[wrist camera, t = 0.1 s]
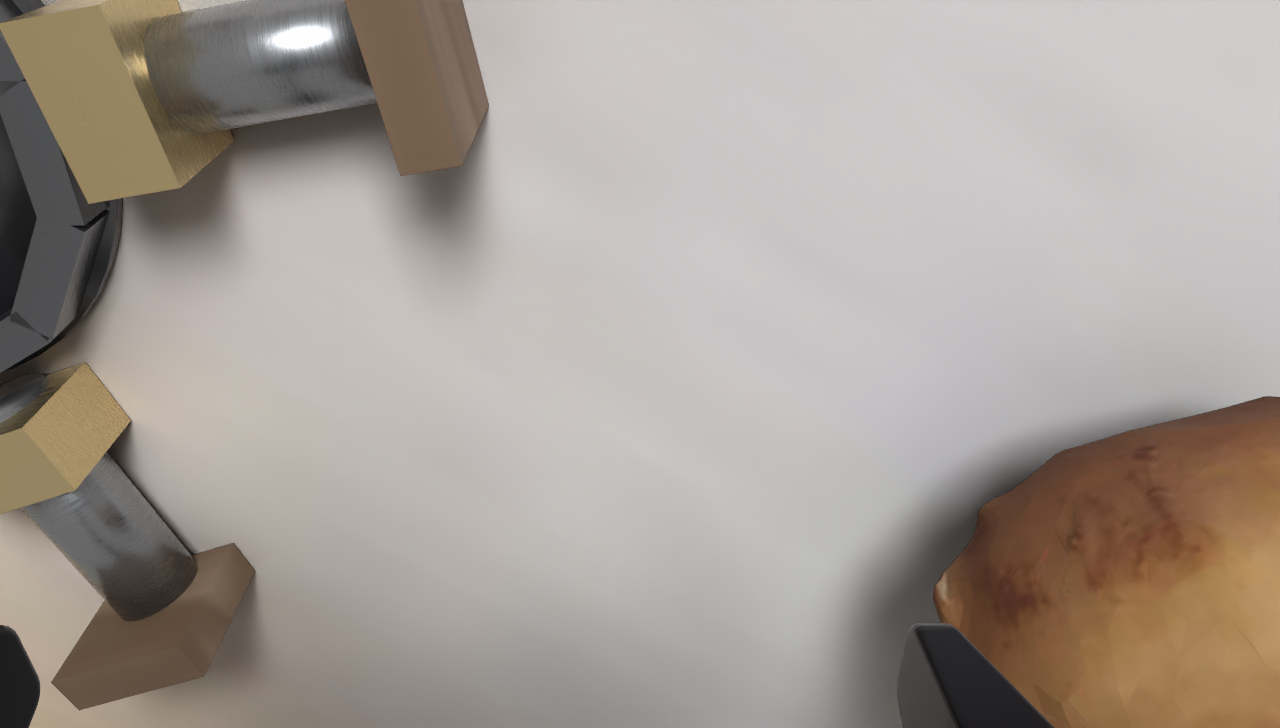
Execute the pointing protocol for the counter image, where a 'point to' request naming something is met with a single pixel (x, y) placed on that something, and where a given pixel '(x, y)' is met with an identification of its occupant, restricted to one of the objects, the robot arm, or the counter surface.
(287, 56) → the shaft
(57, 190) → the dark grey shallow bowl
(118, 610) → the shaft
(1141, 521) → the butternut squash
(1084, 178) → the counter surface
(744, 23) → the counter surface
